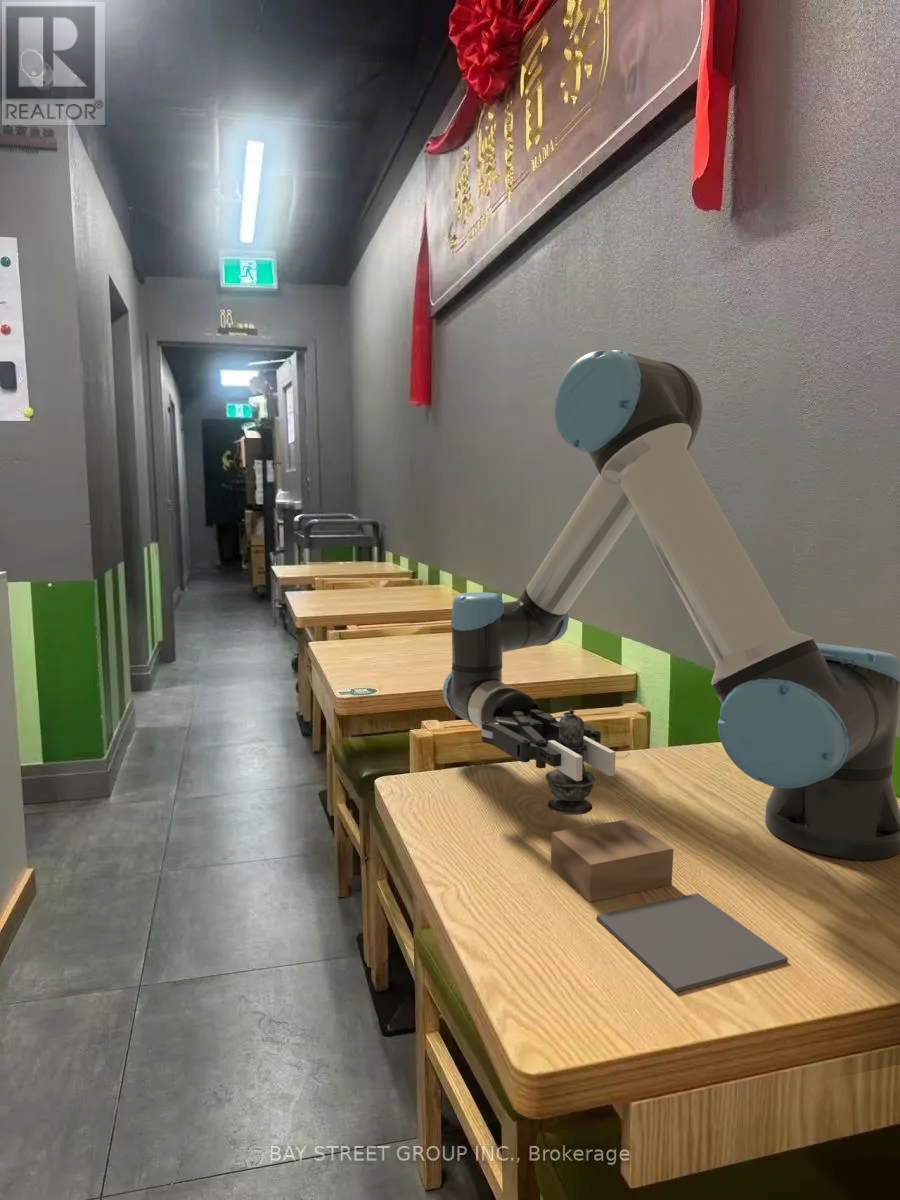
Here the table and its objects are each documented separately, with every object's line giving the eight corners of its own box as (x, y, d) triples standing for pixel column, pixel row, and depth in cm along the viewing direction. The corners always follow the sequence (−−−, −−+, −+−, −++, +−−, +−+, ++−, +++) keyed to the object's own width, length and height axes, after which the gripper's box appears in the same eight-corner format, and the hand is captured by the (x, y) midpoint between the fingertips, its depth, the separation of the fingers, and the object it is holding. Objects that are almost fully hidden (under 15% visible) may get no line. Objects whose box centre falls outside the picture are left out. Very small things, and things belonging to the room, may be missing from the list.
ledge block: (550, 866, 86) (551, 832, 86) (627, 852, 90) (629, 819, 89) (589, 902, 79) (590, 864, 78) (671, 884, 82) (673, 848, 82)
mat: (697, 896, 80) (697, 893, 80) (787, 962, 69) (787, 957, 69) (596, 919, 76) (596, 915, 76) (675, 992, 65) (675, 988, 65)
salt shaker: (552, 794, 97) (553, 699, 95) (599, 800, 95) (601, 704, 93) (539, 811, 92) (540, 711, 90) (589, 819, 89) (591, 716, 88)
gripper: (557, 733, 112) (657, 788, 91) (449, 746, 106) (529, 809, 85) (557, 682, 111) (659, 725, 90) (449, 692, 105) (529, 742, 84)
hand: (595, 766), depth 87 cm, fingers closed on salt shaker, 4 cm apart
